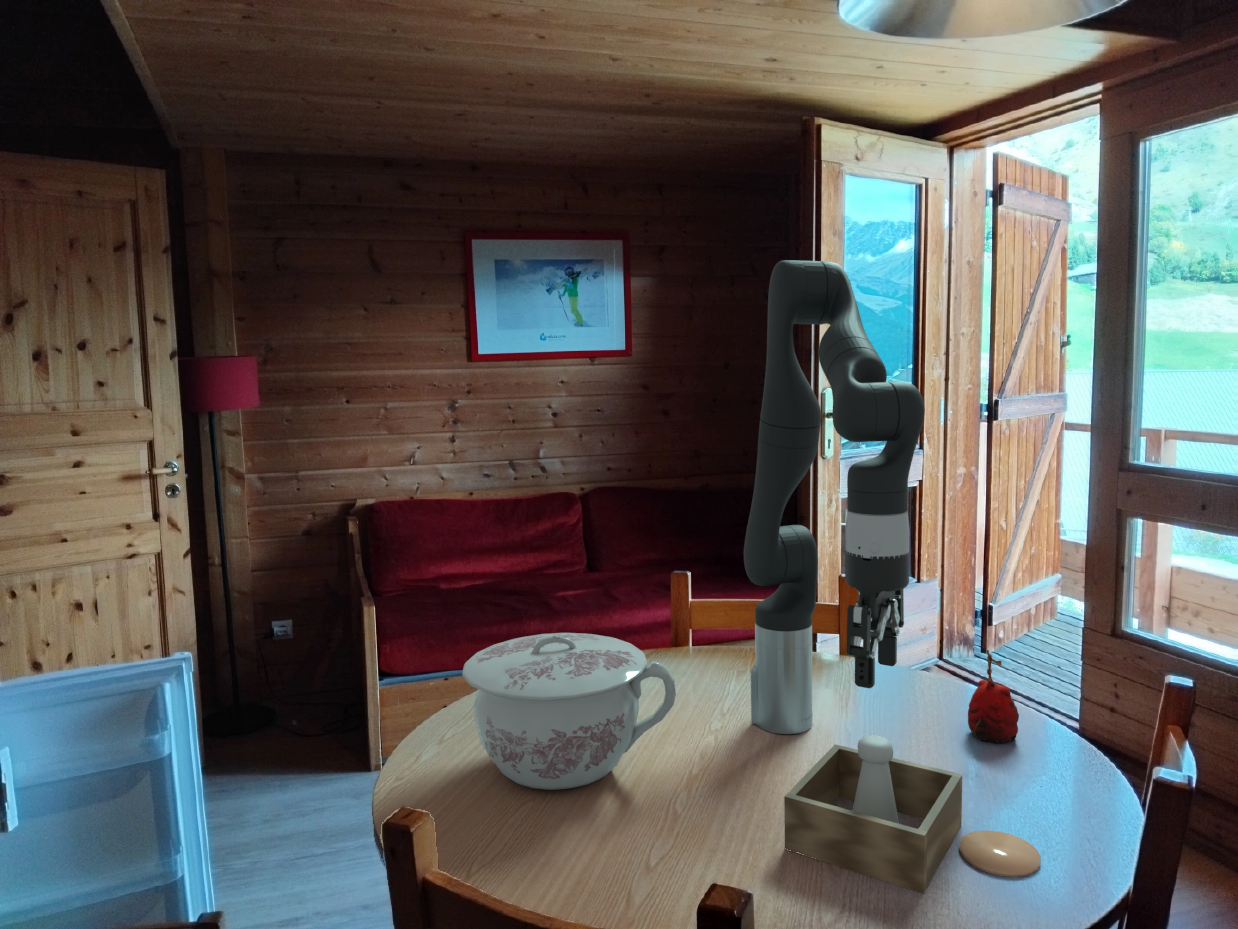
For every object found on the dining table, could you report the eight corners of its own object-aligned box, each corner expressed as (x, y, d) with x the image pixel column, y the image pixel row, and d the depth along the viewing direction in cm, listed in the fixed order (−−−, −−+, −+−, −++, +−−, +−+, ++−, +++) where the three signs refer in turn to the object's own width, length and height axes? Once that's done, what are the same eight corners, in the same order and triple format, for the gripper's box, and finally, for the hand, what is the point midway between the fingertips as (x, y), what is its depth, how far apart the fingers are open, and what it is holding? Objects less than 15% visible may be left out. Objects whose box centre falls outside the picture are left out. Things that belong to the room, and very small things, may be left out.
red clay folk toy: (1025, 737, 139) (1028, 645, 137) (1004, 751, 134) (1007, 656, 132) (979, 723, 144) (981, 634, 142) (957, 736, 140) (959, 645, 138)
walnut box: (784, 849, 109) (784, 796, 109) (834, 791, 123) (834, 744, 122) (923, 893, 100) (924, 835, 99) (961, 825, 114) (962, 774, 113)
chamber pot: (430, 774, 132) (422, 641, 130) (562, 715, 152) (558, 599, 150) (557, 839, 113) (551, 685, 111) (690, 763, 133) (687, 631, 131)
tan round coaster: (951, 862, 106) (951, 857, 106) (969, 828, 113) (969, 823, 113) (1032, 885, 101) (1032, 880, 101) (1046, 848, 108) (1046, 843, 108)
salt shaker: (900, 852, 108) (901, 751, 107) (852, 848, 109) (853, 748, 108) (895, 827, 114) (896, 731, 112) (850, 823, 115) (850, 728, 113)
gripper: (866, 533, 115) (865, 653, 117) (825, 555, 103) (825, 688, 105) (924, 538, 111) (923, 663, 113) (889, 562, 99) (888, 700, 101)
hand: (876, 675), depth 109 cm, fingers open, 8 cm apart
